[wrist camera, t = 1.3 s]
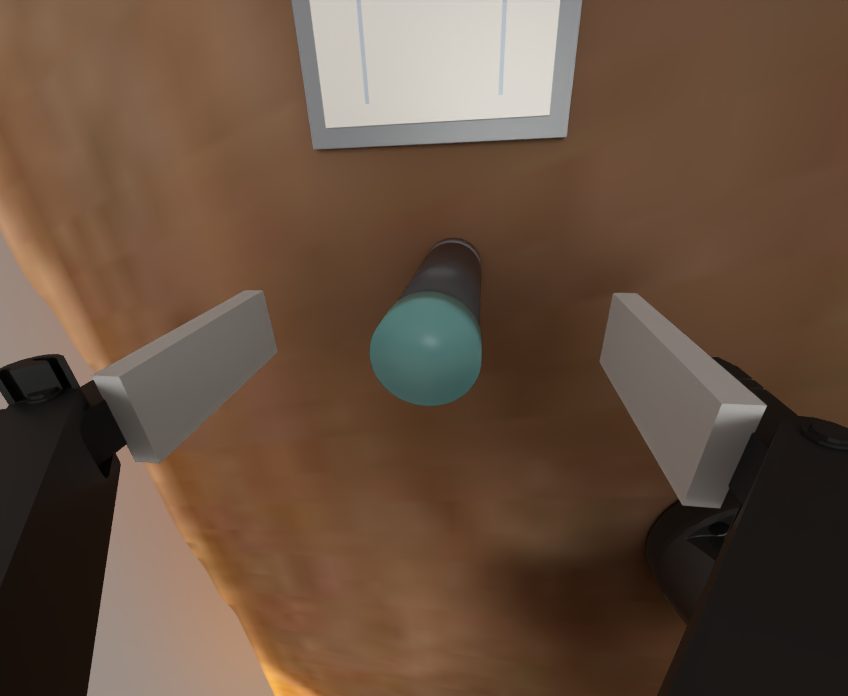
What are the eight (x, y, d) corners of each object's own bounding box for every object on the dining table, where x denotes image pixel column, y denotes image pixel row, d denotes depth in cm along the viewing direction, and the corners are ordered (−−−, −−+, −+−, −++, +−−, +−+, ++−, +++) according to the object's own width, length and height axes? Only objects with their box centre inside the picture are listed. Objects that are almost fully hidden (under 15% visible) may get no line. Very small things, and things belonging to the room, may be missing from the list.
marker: (481, 295, 25) (479, 408, 13) (425, 294, 25) (375, 403, 14) (483, 235, 23) (483, 306, 11) (423, 236, 24) (364, 304, 12)
